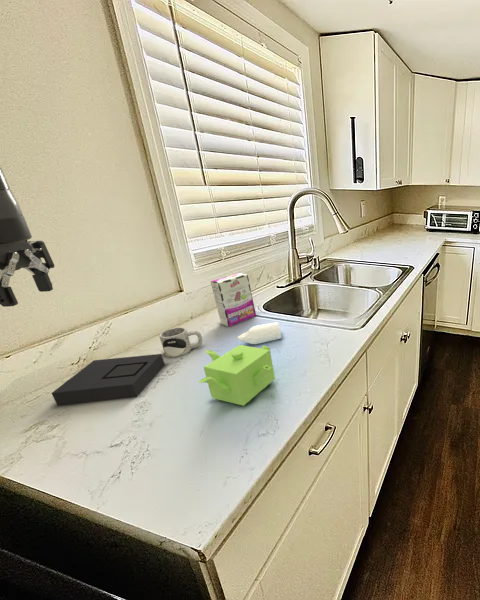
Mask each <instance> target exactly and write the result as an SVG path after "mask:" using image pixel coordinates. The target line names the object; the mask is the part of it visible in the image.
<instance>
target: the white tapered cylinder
mask: <svg viewBox="0 0 480 600" xmlns="http://www.w3.org/2000/svg"><path fill="white" fill-rule="evenodd" d="M236 339H238V340H239V342H245V343H248V344H251V345H259V344H263V343H268V342H272V341H277V340H281V339H282V331H281V328H280V324H279V322H278V321H275V322H269V323H263V324H258V325H253V326H251V327H250V328H249V329H248V330H246V331H245V332H244V333H241V334H240V335H238V336H237V338H236Z"/></svg>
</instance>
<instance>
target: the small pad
mask: <svg viewBox="0 0 480 600" xmlns="http://www.w3.org/2000/svg"><path fill="white" fill-rule="evenodd" d="M144 366H145V364H134V365H124V366H117V367H116V368H115V369H114V370H113V371H112V372H111V373H110V374H108V375H107V376H106V377H105V378H106V379H109V378H118V377H128V376H135V375H136V374H137V373H138V372H139V371H140V370H141V369H142V368H143V367H144Z"/></svg>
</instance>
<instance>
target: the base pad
mask: <svg viewBox="0 0 480 600" xmlns="http://www.w3.org/2000/svg"><path fill="white" fill-rule="evenodd" d="M134 364H145V366H144V367H143V368H142V369H141V370H140V371H139V372H138V373H137V374H136V375H135V376H128V377H118V378H109V379H106V378H105V377H106V376H107V375H108V374H110V373H111V372H112V371H113V370H114V369H115V368H116V367H117V366H124V365H134ZM165 364H166V363H165V361H164V358H163V354H162V353H155V354H145V355H136V356H134V355H133V356H125V357H115V358H104V359H103V358H102V359H94V360H92V361H91V362H90V363H88V364H87V365H85V366H84V367H83V368H82V369H80V370H79V371H78V372H77V373H76V374H74V375H73V376H72V377H70V378H69V379H67V380H66V381H65V382H64V383H62V384H61V385H60V386H59V387H57V388H56V389H55V390H53V391H52V392H51V395H52V398H53V400H54V402H55V405H57V407H62V406H70V405H80V404H87V403H88V404H89V403H96V402H104V401H114V400H121V399H122V400H123V399H131V398H137V397H138V396H139V395H140V394H141V393H142V392H144V390H145V389H146V387H148V385H149V384H150V383H152V381H153V380H154V378H155V377H156V376H157V375H158V374H159V373H160V371H161V370H162V369H163V368H164V367H165V366H166V365H165Z"/></svg>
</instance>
